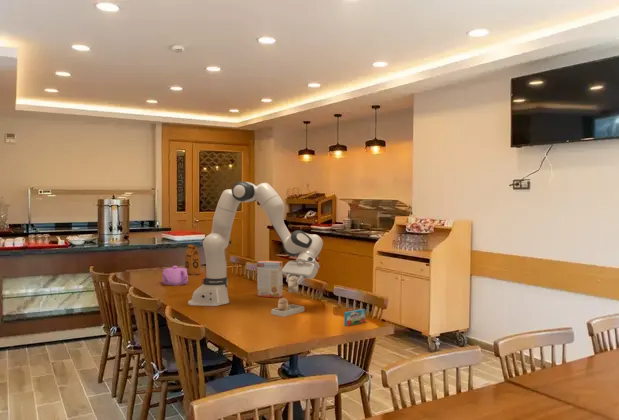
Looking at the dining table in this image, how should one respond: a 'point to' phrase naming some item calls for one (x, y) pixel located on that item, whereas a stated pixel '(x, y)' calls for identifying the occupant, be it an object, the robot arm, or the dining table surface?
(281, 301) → the brown egg
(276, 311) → the carton
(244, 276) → the dining table surface
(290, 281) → the cream egg
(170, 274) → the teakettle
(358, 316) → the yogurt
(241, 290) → the dining table surface
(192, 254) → the coffee package
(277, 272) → the cracker box
